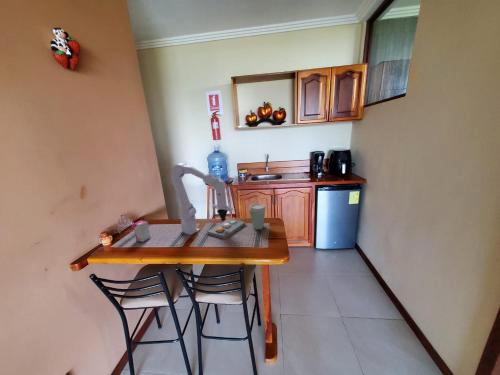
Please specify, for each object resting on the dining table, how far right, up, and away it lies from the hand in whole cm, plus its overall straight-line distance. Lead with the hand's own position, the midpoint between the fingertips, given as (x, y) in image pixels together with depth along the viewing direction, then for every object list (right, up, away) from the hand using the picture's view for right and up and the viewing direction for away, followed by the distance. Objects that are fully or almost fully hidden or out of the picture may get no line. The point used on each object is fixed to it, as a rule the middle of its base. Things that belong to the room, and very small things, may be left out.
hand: (223, 220), depth 123 cm
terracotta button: (-2, -7, -2) cm, 7 cm away
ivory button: (+2, -5, +3) cm, 6 cm away
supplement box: (-49, -12, -2) cm, 50 cm away
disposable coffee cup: (+22, -5, +4) cm, 23 cm away
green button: (+5, -4, +9) cm, 11 cm away
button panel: (+2, -6, +4) cm, 8 cm away
